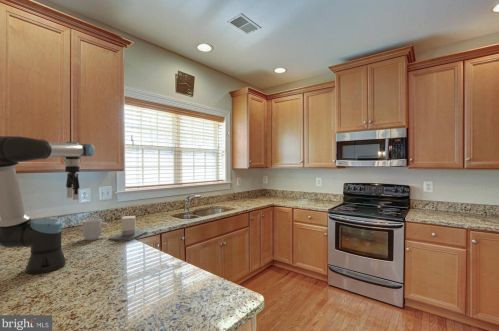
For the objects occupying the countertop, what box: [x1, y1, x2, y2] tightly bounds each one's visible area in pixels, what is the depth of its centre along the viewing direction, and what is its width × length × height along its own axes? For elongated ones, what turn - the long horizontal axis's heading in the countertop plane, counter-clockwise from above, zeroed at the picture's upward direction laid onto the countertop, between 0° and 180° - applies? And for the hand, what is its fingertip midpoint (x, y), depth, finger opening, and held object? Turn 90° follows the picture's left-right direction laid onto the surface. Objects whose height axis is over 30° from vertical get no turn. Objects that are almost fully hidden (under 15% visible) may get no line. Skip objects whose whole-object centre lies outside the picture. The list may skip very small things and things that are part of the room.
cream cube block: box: [120, 215, 137, 232], centre depth 174 cm, size 8×8×8 cm
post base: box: [107, 229, 148, 242], centre depth 174 cm, size 20×16×10 cm
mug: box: [82, 218, 109, 242], centre depth 168 cm, size 15×11×13 cm
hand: (72, 198), depth 159 cm, fingers open, 13 cm apart
